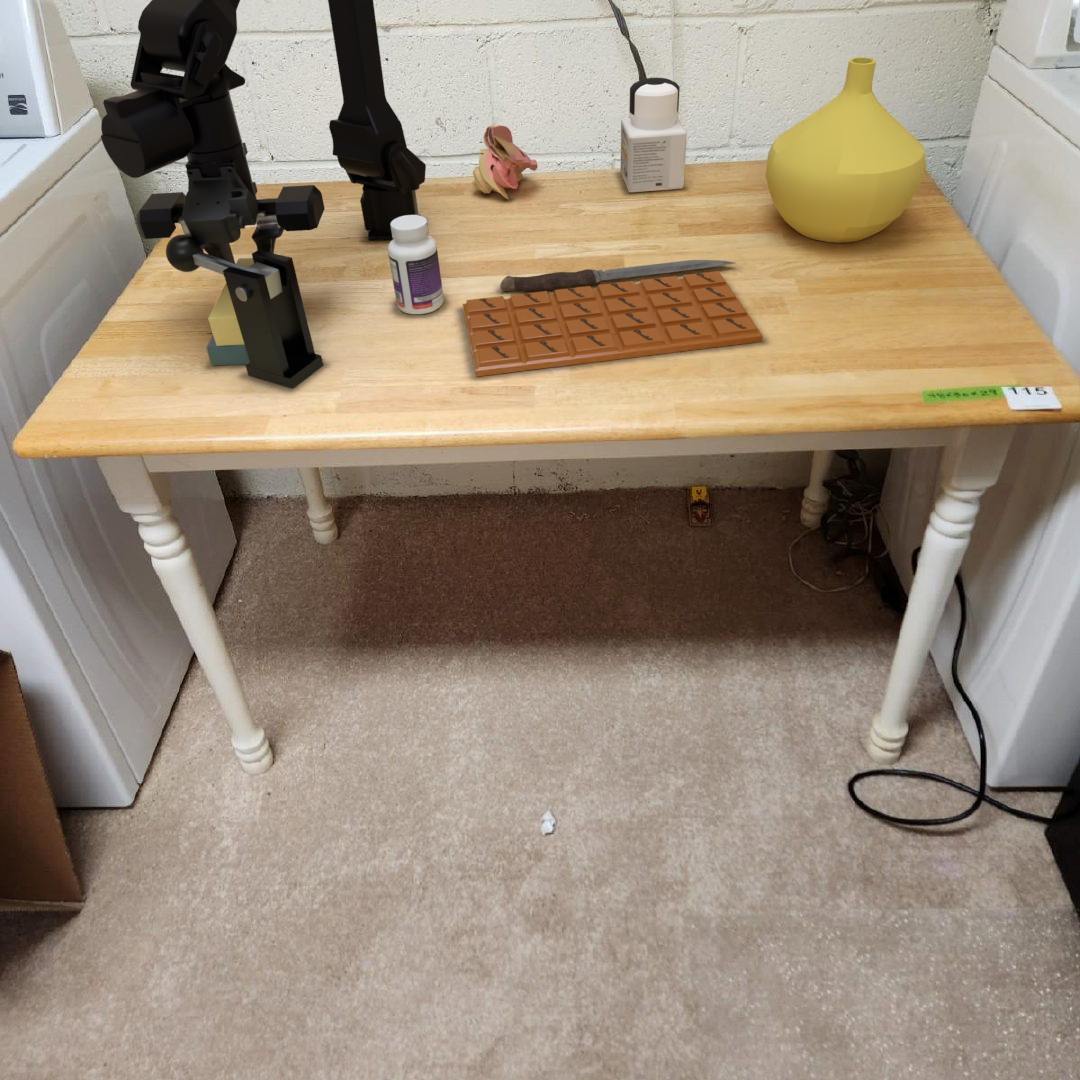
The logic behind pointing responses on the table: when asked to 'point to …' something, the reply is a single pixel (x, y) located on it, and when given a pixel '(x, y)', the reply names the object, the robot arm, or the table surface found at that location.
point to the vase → (845, 165)
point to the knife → (599, 275)
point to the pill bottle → (415, 266)
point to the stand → (273, 323)
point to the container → (653, 137)
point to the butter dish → (226, 354)
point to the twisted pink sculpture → (500, 162)
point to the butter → (227, 316)
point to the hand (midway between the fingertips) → (252, 285)
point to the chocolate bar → (605, 323)
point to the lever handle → (214, 262)
